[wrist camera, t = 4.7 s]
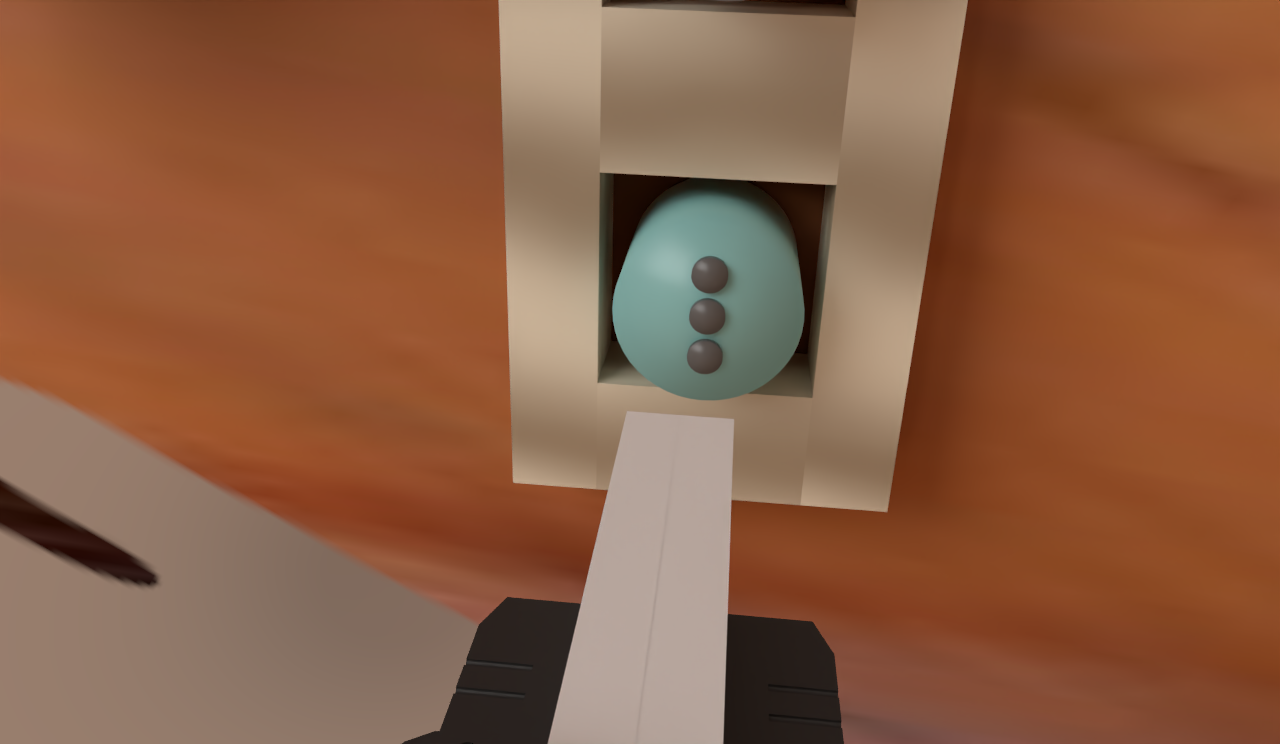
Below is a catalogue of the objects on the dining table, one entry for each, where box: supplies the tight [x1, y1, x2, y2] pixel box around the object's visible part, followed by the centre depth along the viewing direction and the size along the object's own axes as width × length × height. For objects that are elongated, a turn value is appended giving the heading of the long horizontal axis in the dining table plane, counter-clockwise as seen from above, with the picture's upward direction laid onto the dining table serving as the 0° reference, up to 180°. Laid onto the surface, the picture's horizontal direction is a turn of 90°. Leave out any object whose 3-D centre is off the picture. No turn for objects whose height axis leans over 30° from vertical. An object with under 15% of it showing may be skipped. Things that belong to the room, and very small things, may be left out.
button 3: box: [612, 178, 805, 401], centre depth 27 cm, size 5×5×5 cm
